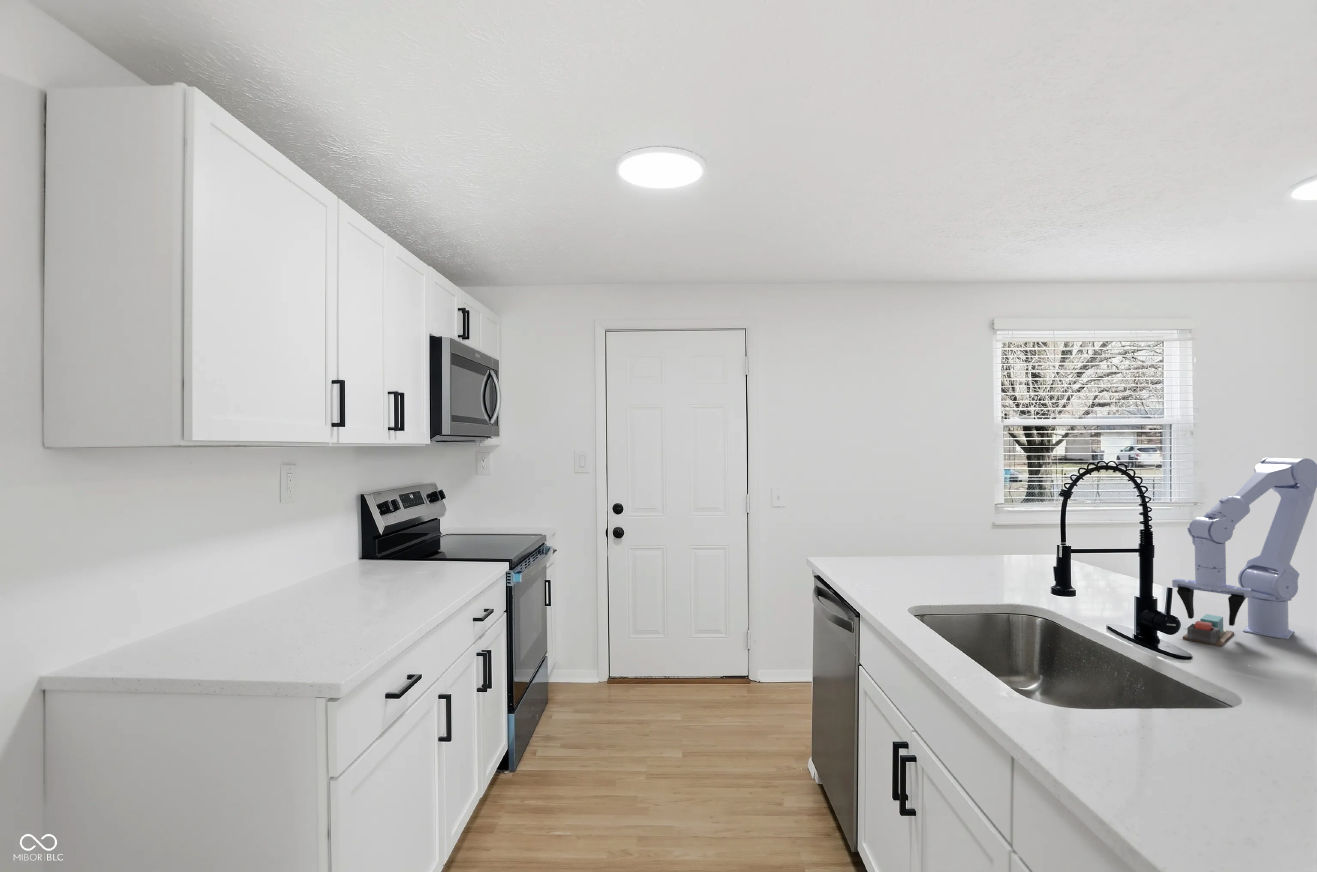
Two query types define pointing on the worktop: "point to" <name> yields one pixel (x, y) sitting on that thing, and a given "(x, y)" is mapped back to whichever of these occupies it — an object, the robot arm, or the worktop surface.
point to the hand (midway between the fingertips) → (1211, 621)
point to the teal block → (1213, 621)
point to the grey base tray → (1208, 635)
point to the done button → (1203, 625)
